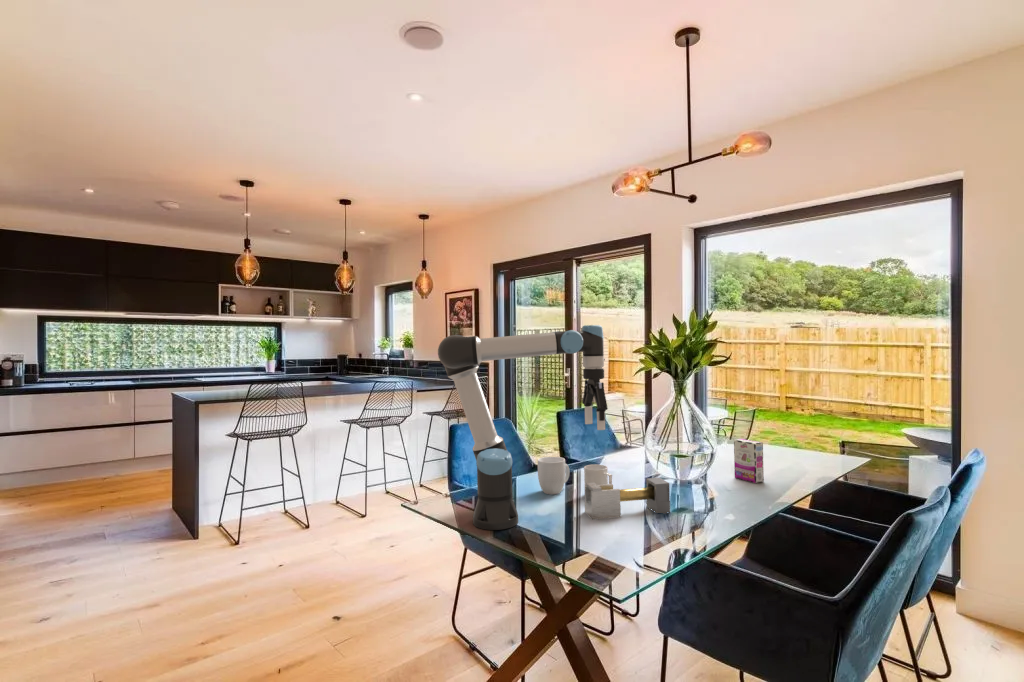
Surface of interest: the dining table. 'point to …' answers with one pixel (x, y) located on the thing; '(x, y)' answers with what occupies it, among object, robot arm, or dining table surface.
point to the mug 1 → (552, 474)
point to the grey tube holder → (602, 501)
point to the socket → (659, 495)
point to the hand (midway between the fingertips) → (594, 426)
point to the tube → (637, 494)
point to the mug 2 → (597, 474)
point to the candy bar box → (748, 460)
